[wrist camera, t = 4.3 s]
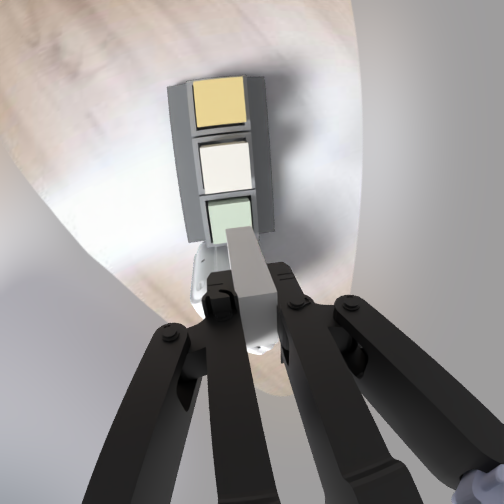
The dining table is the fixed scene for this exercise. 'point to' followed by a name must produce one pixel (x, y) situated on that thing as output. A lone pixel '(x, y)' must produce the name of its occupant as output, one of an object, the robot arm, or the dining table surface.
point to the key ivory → (226, 167)
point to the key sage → (228, 216)
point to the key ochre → (219, 101)
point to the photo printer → (202, 267)
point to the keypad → (193, 137)
